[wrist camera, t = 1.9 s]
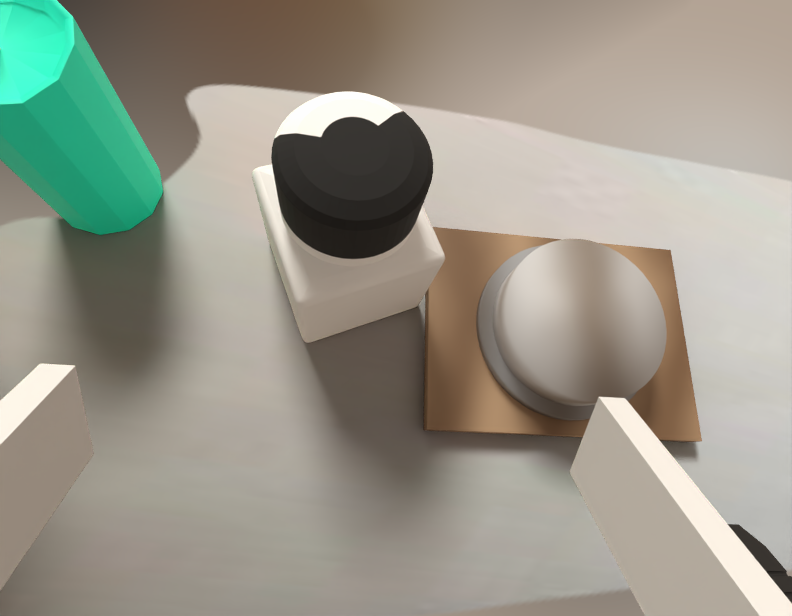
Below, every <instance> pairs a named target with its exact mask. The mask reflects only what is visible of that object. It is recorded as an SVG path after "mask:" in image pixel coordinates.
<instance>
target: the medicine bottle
mask: <svg viewBox="0 0 792 616" xmlns="http://www.w3.org/2000/svg"><path fill="white" fill-rule="evenodd" d="M271 158H272V164H271V165H266V166H262V167H258V168H256V169H254V171H253V173H252V179H253V182H254V186H255V190H256V194H257V198H258V202H259V206H260V210H261V213H262V217H263V221H264V225H265V229H266V233H267V237H268V240H269V243H270V246H271V249H272V252H273V255H274V258H275V261H276V264H277V266H278V269H279V272H280V275H281V278H282V281H283V284H284V287H285V290H286V293H287V296H288V299H289V302H290V304H291V307H292V310H293V313H294V316H295V319H296V322H297V325H298V328H299V331H300V334H301V337H302V339H303V340H304V341H305V342H307V343H310V342H314V341H317V340H320V339H323V338H326V337H329V336H331V335H334V334H337V333H340V332H343V331H346V330H349V329H352V328H355V327H358V326H361V325H364V324H367V323H370V322H373V321H376V320H379V319H382V318H385V317H388V316H391V315H394V314H397V313H400V312H403V311H406V310H409V309H412V308H415V307H417V306H418V305H419V303H420V301H421V300H422V298H423V296H424V295H425V293H426V291H427V290H428V288H429V286H430V285H431V283H432V281H433V279H434V278H435V276H436V274H437V273H438V271H439V269H440V268H441V266H442V264H443V262H444V260H445V255H444V252H443V250H442V248H441V245H440V243H439V241H438V239H437V236H436V234H435V232H434V229H433V227H432V225H431V223H430V220H429V218H428V216H427V214H426V211H425V209H424V207H423V202H424V200H425V197H426V194H427V192H428V189H429V186H430V184H431V180H432V174H433V159H432V153H431V150H430V146H429V144H428V141H427V139H426V137H425V135H424V134H423V132H422V131H421V129H420V127H419V126H418V125H417V124H416V123H415V122H414V120H413V119H412V118H410V117H409V116H408V115H407V114H406V113H405V112H404V111H402V110H401V109H399V108H398V107H397V106H395V105H394V104H392V103H390V102H388V101H386V100H384V99H382V98H379V97H376V96H373V95H370V94H365V93H359V92H336V93H330V94H326V95H323V96H319V97H317V98H314V99H312V100H310V101H308V102H306V103H304V104H303V105H301V106H299V107H298V108H296V109H295V110H294V111H293V112H292V113H291V114H289V116H288V117H287V118H286V119H285V120H284V121H283V123H282V124H281V126H280V128H279V129H278V131H277V134H276V136H275V138H274V142H273V146H272V157H271Z"/></svg>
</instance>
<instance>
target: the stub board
mask: <svg viewBox="0 0 792 616" xmlns="http://www.w3.org/2000/svg"><path fill="white" fill-rule="evenodd" d="M433 229H434V232H435V234H436V236H437V239H438V241H439V243H440V245H441V248H442V250H443V252H444V255H445V260H444V262H443V264H442V266H441V268H440V269H439V271H438V273H437V274H436V276H435V278H434V279H433V281H432V283H431V285H430V286H429V288H428V290H427V291H426V294H425V367H424V430H427V431H450V432H473V433H496V434H519V435H542V436H565V437H583V436H584V433H585V431H586V428H587V426H588V423H589V420H590V418H591V415H592V413H593V410H594V408H595V405H596V402H597V400H598V397H613V398H625V399H626V400H627V401H628V402H629V403H630V405H631V406H632V407H633V408H634V410H635V411H636V412H637V413H638V415H639V416H640V417H641V418H642V419H643V421H644V422H645V423H646V424H647V426H648V427H649V428H650V429H651V431H652V432H653V433H654V434H655V436H656V437H657V438H658V439H659V440H660V441H681V442H696V441H702V439H701V433H700V427H699V421H698V415H697V409H696V403H695V397H694V391H693V384H692V378H691V372H690V366H689V360H688V354H687V348H686V342H685V336H684V330H683V323H682V317H681V311H680V305H679V299H678V293H677V287H676V281H675V275H674V269H673V263H672V256H671V250H664V249H653V248H643V247H633V246H622V245H612V244H602V243H596V242H592V241H588V240H582V239H564V240H561V239H550V238H540V237H530V236H520V235H509V234H499V233H489V232H478V231H468V230H458V229H447V228H437V227H433Z"/></svg>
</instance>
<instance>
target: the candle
mask: <svg viewBox="0 0 792 616" xmlns="http://www.w3.org/2000/svg"><path fill="white" fill-rule="evenodd" d="M0 159H1V161H3V162H4V163H5V164H6V165H7V166H8V167H9V168H10V169H11V170H12V171H13V172H14V173H15V174H16V175H18V176H19V177H20V178H21V179H22V180H23V181H24V182H25V183H26V184H27V185H28V186H29V187H30V188H32V190H34V191H35V192H36V193H37V194H38V195H39V196H40V197H41V198H42V199H43V200H44V201H45V202H46V203H47V204H49V205H50V206H51V207H52V208H53V209H54V210H55V211H56V212H57V213H58V214H59V215H60V216H61V217H62V218H64V219H65V220H66V221H67V222H68V223H69V224H70V225H71V226H72V227H74V228H77V229H81V230H84V231H88V232H91V233H95V234H98V235H103V234H109V233H115V232H121V231H127V230H130V229H132V228H133V227H134V226H136V225H137V224H139V223H140V222H142V221H143V220H145V219H146V218H148V217H149V216H150V215H152V214H153V212H154V210H155V208H156V206H157V204H158V202H159V200H160V198H161V196H162V194H163V188H162V182H161V176H160V171H159V169H158V166H157V165H156V163H155V161H154V159H153V158H152V156H151V154H150V152H149V150H148V149H147V147H146V145H145V143H144V142H143V140H142V138H141V136H140V135H139V133H138V131H137V129H136V127H135V126H134V124H133V122H132V121H131V119H130V117H129V116H128V113H127V112H126V110H125V108H124V106H123V104H122V103H121V101H120V99H119V98H118V96H117V94H116V92H115V90H114V89H113V87H112V85H111V83H110V82H109V80H108V78H107V76H106V74H105V73H104V71H103V69H102V67H101V66H100V64H99V62H98V60H97V59H96V57H95V55H94V53H93V51H92V50H91V48H90V46H89V44H88V43H87V41H86V39H85V38H84V36H83V34H82V32H81V30H80V28H79V27H78V25H77V23H76V21H75V20H74V18H73V17H72V15H71V14H70V13H69V12H68V11H67V10H66V9H65V8H64V7H63V6H62V5H61V4H60V3H59V2H58V1H57V0H0Z"/></svg>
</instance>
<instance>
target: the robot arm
mask: <svg viewBox="0 0 792 616" xmlns="http://www.w3.org/2000/svg"><path fill="white" fill-rule="evenodd" d="M93 454H94V452H93V447H92V442H91V437H90V433H89V428H88V423H87V418H86V413H85V409H84V404H83V399H82V394H81V390H80V385H79V380H78V375H77V370H76V366H74V365H57V364H39V365H38V366H37V367H36V368H35V369H34V370H33V371H32V372H31V373H30V374H29V375H27V376H26V377H25V378H24V379H23V380H22V381H21V382H20V383H19V384H18V385H17V386H16V387H15V388H14V389H12V390H11V391H10V392H9V393H8V394H7V395H6V396H5V397H4V398H3V399H2V400H1V401H0V591H1V589H2V588H3V586H4V585H5V583H6V582H7V580H8V579H9V577H10V576H11V574H12V573H13V572H14V570H15V569H16V567H17V566H18V564H19V563H20V561H21V560H22V558H23V557H24V555H25V554H26V553H27V551H28V550H29V548H30V547H31V545H32V544H33V542H34V541H35V539H36V538H37V536H38V535H39V534H40V532H41V531H42V529H43V528H44V526H45V525H46V523H47V522H48V520H49V519H50V517H51V516H52V514H53V513H54V512H55V510H56V509H57V507H58V506H59V504H60V503H61V501H62V500H63V498H64V497H65V495H66V494H67V493H68V491H69V490H70V488H71V487H72V485H73V484H74V482H75V481H76V479H77V478H78V476H79V475H80V474H81V472H82V471H83V469H84V468H85V466H86V465H87V463H88V462H89V460H90V459H91V457H92V456H93ZM570 474H571V476H572V478H573V480H574V482H575V484H576V486H577V488H578V489H579V491H580V493H581V495H582V497H583V499H584V501H585V503H586V505H587V507H588V509H589V510H590V512H591V514H592V516H593V518H594V520H595V522H596V524H597V526H598V528H599V530H600V531H601V533H602V535H603V537H604V539H605V541H606V543H607V545H608V547H609V549H610V550H611V552H612V554H613V556H614V558H615V560H616V562H617V564H618V566H619V568H620V570H621V571H622V573H623V575H624V577H625V579H626V581H627V583H628V585H629V587H630V589H631V591H632V592H633V594H634V596H635V598H636V600H637V602H638V604H639V606H640V608H641V610H642V611H643V613H644V615H645V616H792V577H791V576H788V575H787V573H786V572H787V571H786V570H785V569H784V568H783V566H782V565H781V564H780V563H779V562H778V561H777V559H776V558H775V557H774V556H773V555H772V553H771V552H770V551H769V550H768V549H767V548H766V546H764V545H763V544H762V543H761V542H759V541H758V540H757V539H756V538H754V537H753V536H752V535H751V534H750V533H748V532H747V531H746V530H745V529H743V528H742V527H741V526H740V525H733V524H727V523H726V522H725V521H724V519H723V518H722V517H721V516H720V514H719V513H718V512H717V511H716V509H715V508H714V507H713V506H712V505H711V503H710V502H709V501H708V500H707V498H706V497H705V496H704V495H703V493H702V492H701V491H700V490H699V489H698V487H697V486H696V485H695V484H694V482H693V481H692V480H691V479H690V477H689V476H688V475H687V474H686V472H685V471H684V470H683V469H682V468H681V466H680V465H679V464H678V463H677V461H676V460H675V459H674V458H673V456H672V455H671V454H670V453H669V452H668V450H667V449H666V448H665V447H664V445H663V444H662V443H661V442H660V440H659V439H658V438H657V437H656V436H655V434H654V433H653V432H652V431H651V429H650V428H649V427H648V426H647V424H646V423H645V422H644V421H643V419H642V418H641V417H640V416H639V415H638V413H637V412H636V411H635V410H634V408H633V407H632V406H631V405H630V403H629V402H628V401H627V400H626V399H625V398H613V397H598V400H597V402H596V405H595V408H594V410H593V413H592V415H591V418H590V420H589V423H588V426H587V428H586V431H585V433H584V436H583V439H582V441H581V444H580V446H579V449H578V451H577V454H576V457H575V459H574V462H573V464H572V467H571V470H570Z"/></svg>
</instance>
